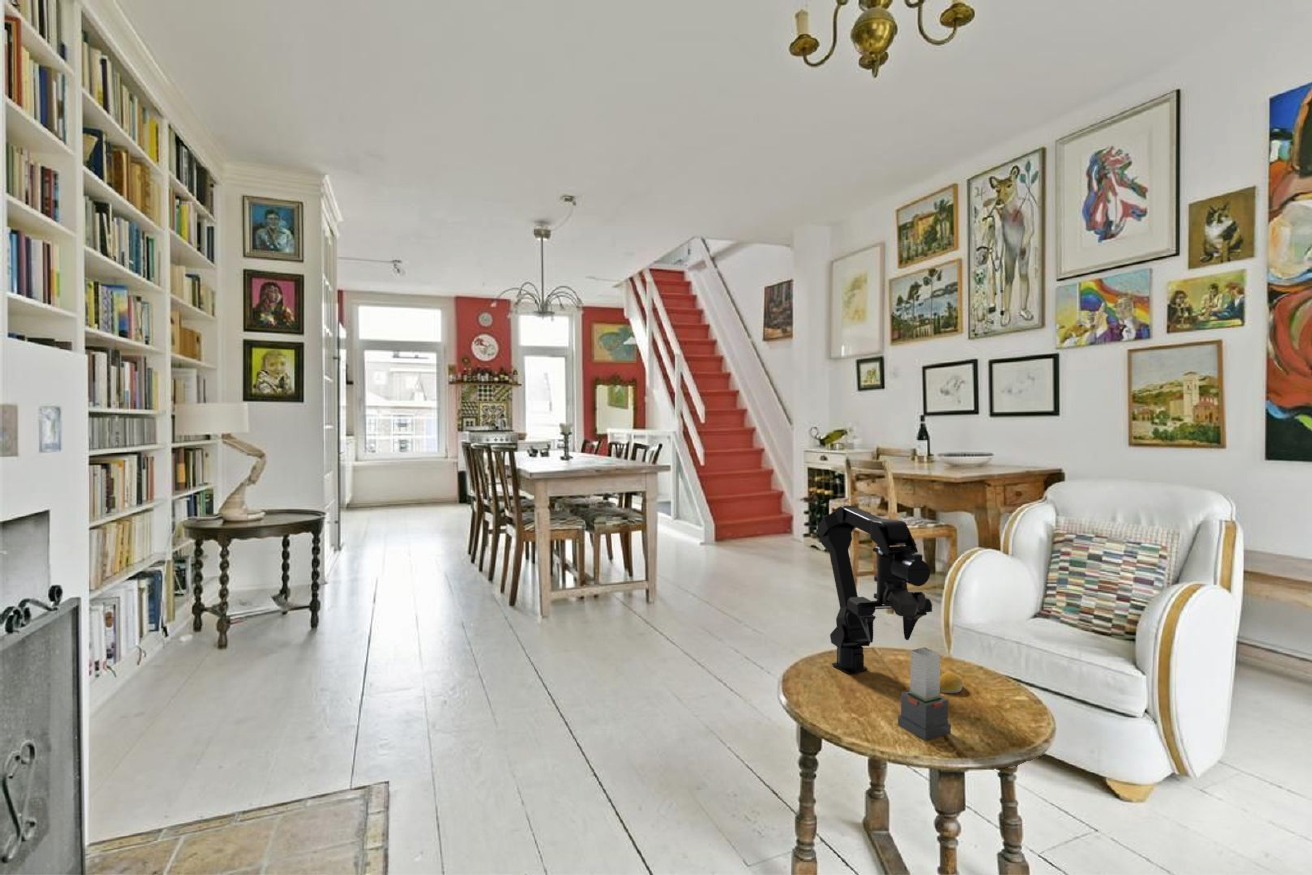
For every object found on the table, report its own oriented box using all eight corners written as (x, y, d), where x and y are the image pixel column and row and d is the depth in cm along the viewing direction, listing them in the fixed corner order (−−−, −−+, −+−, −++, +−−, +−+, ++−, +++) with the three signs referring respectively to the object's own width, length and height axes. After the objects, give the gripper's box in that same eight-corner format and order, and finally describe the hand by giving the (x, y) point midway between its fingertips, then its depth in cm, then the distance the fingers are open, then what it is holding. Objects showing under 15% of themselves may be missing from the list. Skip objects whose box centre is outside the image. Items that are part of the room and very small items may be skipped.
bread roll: (953, 698, 148) (954, 681, 147) (916, 685, 154) (916, 669, 154) (968, 688, 153) (969, 671, 153) (932, 676, 160) (932, 660, 160)
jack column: (909, 701, 133) (910, 650, 133) (923, 697, 135) (924, 647, 135) (925, 710, 130) (926, 657, 129) (939, 706, 131) (941, 653, 131)
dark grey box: (897, 724, 134) (898, 692, 134) (922, 717, 137) (923, 686, 137) (925, 740, 128) (926, 706, 127) (950, 733, 131) (951, 700, 131)
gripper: (871, 585, 137) (869, 656, 138) (948, 582, 141) (946, 651, 142) (846, 573, 148) (845, 638, 149) (918, 569, 152) (917, 633, 152)
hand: (888, 640), depth 148 cm, fingers open, 9 cm apart
